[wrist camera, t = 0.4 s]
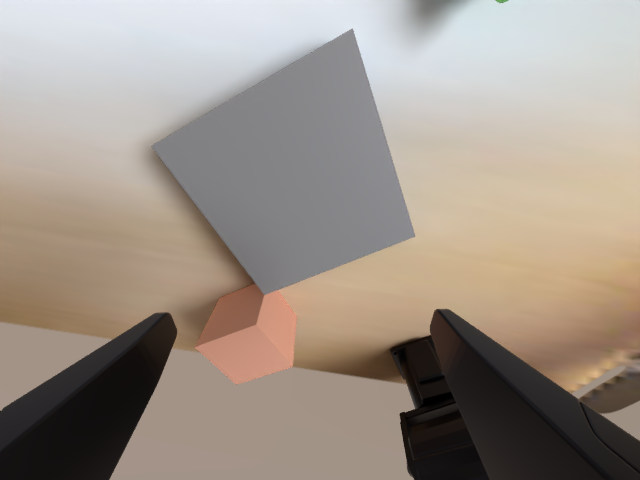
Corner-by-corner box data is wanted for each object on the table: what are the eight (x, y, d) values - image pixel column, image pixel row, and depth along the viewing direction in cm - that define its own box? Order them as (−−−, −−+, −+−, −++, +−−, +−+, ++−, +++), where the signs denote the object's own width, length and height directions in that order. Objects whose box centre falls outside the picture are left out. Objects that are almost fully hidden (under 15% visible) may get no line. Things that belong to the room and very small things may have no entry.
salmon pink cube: (296, 315, 26) (292, 366, 21) (251, 332, 27) (236, 384, 22) (269, 277, 24) (256, 324, 18) (219, 297, 25) (194, 347, 20)
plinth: (404, 223, 21) (415, 236, 19) (269, 278, 24) (264, 295, 21) (346, 40, 15) (352, 28, 13) (171, 141, 17) (151, 146, 15)
